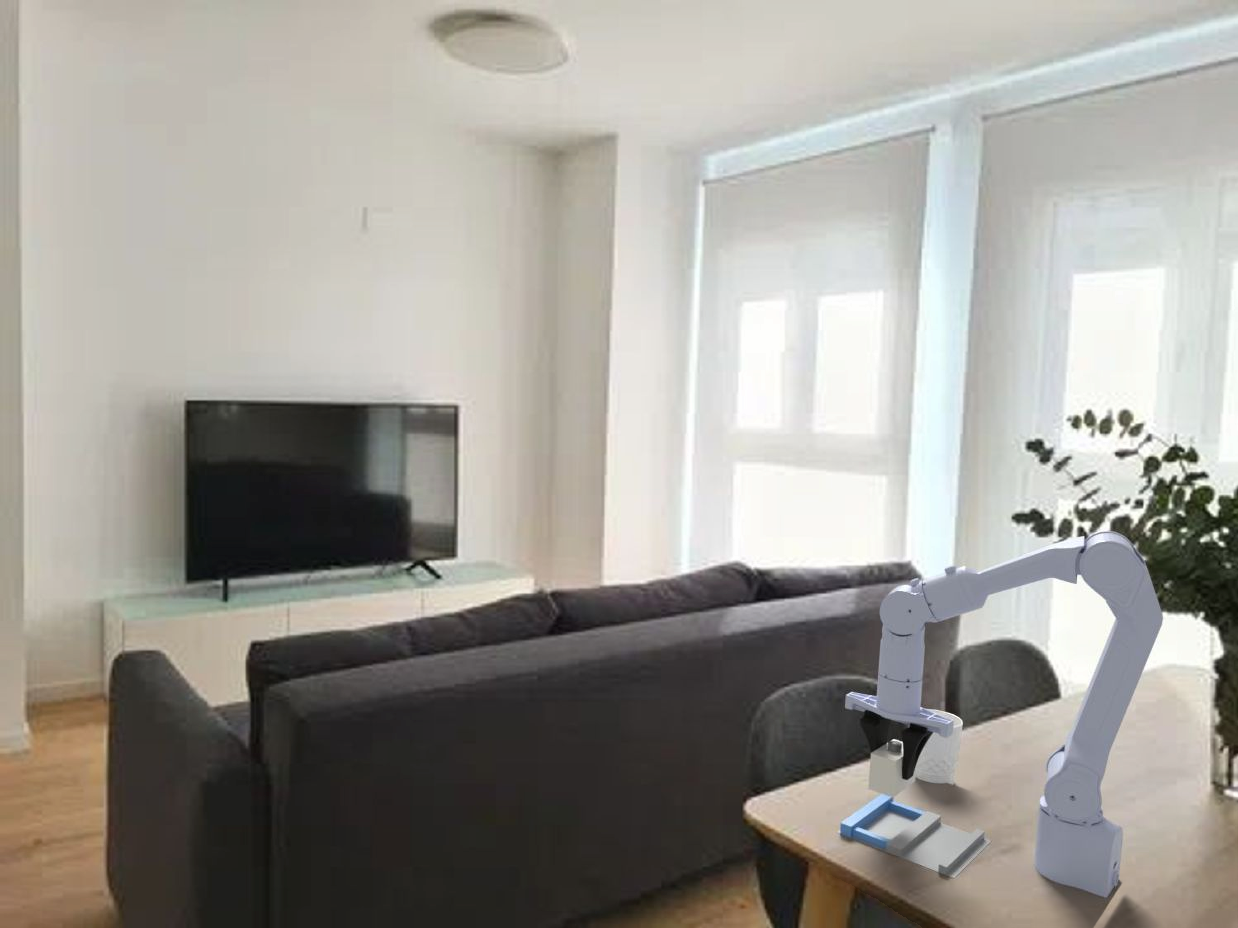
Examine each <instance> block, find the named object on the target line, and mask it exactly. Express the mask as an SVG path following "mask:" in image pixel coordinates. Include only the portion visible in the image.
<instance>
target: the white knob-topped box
mask: <svg viewBox="0 0 1238 928" xmlns="http://www.w3.org/2000/svg"><path fill="white" fill-rule="evenodd" d="M902 765H903V742H902V741H900V740H899V739H895V738H894V739H892V740H889V741H887V744H885V745H883V746H882V747H880V748H878V749H877V750H875V751H874V752H872V753H871V752H870V762H869V775H868V786H867V787H868V788H867V789H868V790H870V791H873V792H876V793H879V794H880V795H881V794H884V795H887V796H890V797H896V796H897V795H899V794H900V793H901V792H902V791H904V790H906V789H907V788H908V787H910V786H911V785H912V784H914V783H915V782H916V767H915V770H914V774H913V776H912V777H911V778H910V779H908V780H905V779H902Z"/></svg>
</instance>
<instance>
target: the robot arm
mask: <svg viewBox="0 0 1238 928" xmlns="http://www.w3.org/2000/svg"><path fill="white" fill-rule="evenodd" d="M1078 576H1081V577H1082V580H1083V581H1084V582H1085V584H1086V585H1088V587H1089V588H1090V589H1092V590H1093V591H1094V592H1095V593H1096V594H1098V595H1099V597H1101V598H1103V599H1104V600H1105V602H1106V604H1107V606H1108V607H1109V609H1110V611H1111V612H1112V614H1113V616H1114V617H1115V620H1114V622H1113V625H1112V628H1111V630H1110V632H1109V634H1108V636H1107V639H1106V641H1105V645H1104V647H1103V649H1102V651H1101V654H1100V657H1099V659H1098V662H1097V664H1096V666H1095V669H1094V672H1093V675H1092V678H1091V679H1090V681H1089V685H1088V687H1087V690H1086V692H1085V694H1084V696H1083V699H1082V702H1081V704H1080V707H1079V709H1078V712H1077V714H1076V716H1075V719H1074V722H1073V723H1072V724H1073V725H1072V727H1071V728H1070V730H1069V731H1068V733H1067V734H1066V736H1065V739H1064V741H1063V744H1062V745H1061V746H1060V747H1059V748H1058V749H1056V750H1054V751H1053V752H1052V753H1051V754H1050V756H1049V757H1048V759H1047V762H1046V781H1045V782H1046V783H1045V784H1044V789H1043V796H1041V797H1040V798H1039V804H1038V815H1037V823H1036V824H1037V825H1036V827H1037V828H1036V837H1035V849H1034V859H1033V861H1034V862H1033V866H1034V869H1035V870H1036V871H1037V872H1038V874H1040V875H1041V876H1043V877H1045V878H1046V879H1048V880H1050V881H1052V882H1055V883H1058V884H1061V885H1063V886H1069V887H1073V888H1077V889H1080V890H1083V891H1086V892H1089V893H1091V894H1094V895H1097V896H1099V897H1103V898H1105V899H1106V898H1108V896H1109V895H1110V893H1111V892H1112V890H1114V888H1115V887H1116V886H1118V883H1119V879H1120V871H1121V863H1122V862H1121V861H1122V859H1121V858H1122V850H1123V849H1122V848H1123V840H1124V838H1123V837H1124V832H1123V827H1122V826H1121V825H1119V824H1117V823H1114V822H1112V821H1111V820H1108V819H1107V818H1106V817H1104V812H1103V809H1102V805H1103V798H1102V792H1101V785H1102V781H1103V779H1104V776H1105V773H1106V771H1107V770H1106V769H1107V765H1108V760H1109V756H1110V753H1111V750H1112V747H1113V744H1114V742H1115V740H1116V737H1117V735H1118V732H1119V730H1120V728H1121V725H1122V722H1123V720H1124V719H1125V715H1126V713H1127V711H1128V708H1129V705H1130V703H1131V701H1132V699H1133V696H1134V693H1135V691H1136V689H1137V687H1138V684H1139V682H1140V679H1141V677H1142V674H1143V672H1144V670H1145V666H1146V665H1147V662H1148V659H1149V657H1150V655H1151V652H1152V651H1153V648H1154V646H1155V642H1156V639H1157V637H1158V635H1159V633H1160V630H1161V628H1162V625H1163V620H1164V615H1163V612H1162V611H1163V610H1162V609H1161V606H1160V603H1159V600H1158V597H1157V594H1156V591H1155V588H1154V584H1153V580H1152V579H1151V575H1150V572H1149V570H1148V567H1147V564H1146V561H1145V559H1144V557H1143V556H1142V555H1141V553H1140V552H1139V551H1138V550H1137V548H1136V547H1135V546H1134V544H1133V542H1131V541H1130V539H1128V538H1127V537H1126V536H1125V535H1123V534H1121V533H1118V532H1116V531H1111V530H1102V531H1098V532H1097V531H1096V532H1095V533H1093V534H1091V535H1089V536H1088V537H1086V538H1085V536H1084V535H1083V536H1077V537H1073V538H1069V539H1065V540H1062V541H1059V542H1055V543H1051V544H1049V545H1046V546H1043V547H1041V548H1038V549H1036V550H1033V551H1030V552H1028V553H1025V554H1023V555H1022V554H1021V555H1020V556H1017V557H1014V558H1012V559H1009V560H1006V561H1004V562H1001V563H999V564H996V565H994V566H991V567H987V568H986V569H982V570H977V569H974V568H972V567H970V566H966V565H962V566H960V567H957V566H956V564H951V565H948V566H945V568H944V572H942V573H939V574H936V575H934V576H930V577H928V578H924V579H922V580H920V579H919V578H918V577H917V578H914V579H911V580H910V581H909V584H902V585H899V586H896V587H895V588H893V589H892V590H891V591H889V593H887V595H886V596H885V597H884V598H883V600H882V602H881V604H880V606H879V617H880V618H879V619H880V621H881V622H882V627H881V628H882V629H881V633H882V635H881V639H880V645H879V659H878V673H877V674H878V675H877V687H876V688H877V689H876V695H870V694H864V693H858V692H854V691H851V692H849V693H847V694H845V700H844V701H845V703H844V708H845V709H847V710H851V711H853V710H857V711H860V712H864V713H863V714H862V715H863V717H861V718H860V719H859V725H860V727H861V729H862V731H863V733H864V735H865V737H866V740H867V743H868V746H869V750H870V754H871V753H872V752H874V751H875V750H877V749H878V748H880V747H882V746H883V745H885V744H887V743H888V738H889V737H888V736H889V731H890V727H891V722H892V721H895V722H898V723H901V724H905V725H908V726H909V727H907V728H905V729H903V730H902V731H901V740H902V742H903V765H902V779H905V780H908V779H910V778H911V777H912V776H913V774H914V770H915V767H916V764H917V761H918V758H919V756H920V754H921V752H922V750H923V748H924V746H925V744H926V743H927V741H928V739H929V738H930V736H931V735H932V734H933V732H935V733H938V734H939V735H940V736H942V737H945V738H947V737H949V736H951V735H952V734H953V723H954V720H952V719H948V718H945V717H943V716H940V715H938V714H936V713H933V712H931V711H929V710H927V709H928V708H924V707H922V706H921V704H922V691H923V678H924V677H923V676H924V665H925V664H924V661H925V650H926V645H925V644H926V643H925V632H926V625H925V623H938V622H942V621H946V620H948V619H951V618H954V617H958V616H960V615H965V614H967V613H970V612H974V611H977V610H980V609H982V608H983V607H984V606H985V604H986V601H987V599H988V597H989V596H990V595H993V594H996V593H997V594H998V593H1000V592H1003V591H1007V590H1011V589H1014V588H1019V587H1023V586H1025V585H1029V584H1032V583H1036V582H1040V581H1043V580H1046V579H1047V580H1048V579H1055V580H1056V579H1057V580H1059V581H1063V582H1067V583H1070V584H1074V585H1077V584H1078Z"/></svg>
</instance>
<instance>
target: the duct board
mask: <svg viewBox="0 0 1238 928" xmlns="http://www.w3.org/2000/svg"><path fill="white" fill-rule="evenodd" d="M894 797H895V796H894ZM894 797H890V796H887V795H884V794H881V793H880V794H879V795H878V796H876V797H875V798H874V799H872V800H870V801H869V802H868V803H866V805H864V806H862V807H861V808H860V809H858V810H857V811H855V812H854V813H853V814H851V815H850V816H849V817H847V818H845V819H844V820H843V821H841V822H840V827H839V828H840V829H839V830H838V831H836V833H837V834H839V835H841V836H845V837H847V838H850V839H852V840H855V841H857V842H860V843H862V844H865V845H866V846H867V845H868V846H870V847H872V848H875V849H878V850H879V851H883V852H885V853H888V854H890V855H893V856H896V857H898V858H901V859H903V860H906V861H909V862H911V863H912V864H915V865H919V866H921V867H923V868H926V869H929V870H931V871H934V872H937V873H938V874H941V875H944V876H947V877H949V878H952V879H956V877H957V876H958V875H959V874H960V873H961V872H962V871H963V870H965V868H967V867H968V866H969V865H970V863H971V862H973V861H974V859H975V858H977V856H978V855H980V853H982V852H983V850H984V849H986V848H987V847H988V846H989V845H990V844H991V843H992V840H991V839H987V838H985V834H986V831H984V830H982V829H980V828H976V829H975V830H974V831H973V832H972V833H971V832H968V831H965V830H962V829H959V828H956V827H953V826H951V825H948V824H946V823H943V822H942V821H941V819H942V815H940V814H937V813H934V812H931V811H928V810H926V811H923V810H920V809H918V808H915V807H913V806H910V805H906V804H905V803H904V804H903V803H901V802H898V801H895V800H894Z"/></svg>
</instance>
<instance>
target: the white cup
mask: <svg viewBox="0 0 1238 928" xmlns="http://www.w3.org/2000/svg"><path fill="white" fill-rule="evenodd" d="M926 709H927V710H929V711H931V712H933V713H936V714H938V715H940V716H943V717H945V718H948V719H952V720H954V723H953V734H952V735H951V736H949V737H947V738H945V737H942V736H940V735H939V734H938V733H935V732H933V734H932V735H931V736H930V738H929V739H928V741H927V743H926V744H925V746H924V748H923V750H922V752H921V754H920V756H919V758H918V761H917V764H916V777H915V779H918V780H919V781H923V782H924V781H925V782H928V783H932V784H941V785H942V784H949V785H951V786H954V784H955V776H956V770H957V768H958V761H959V756H960V755H959V754H960V750H961V740H962V733H963V724H964V723H963V720H962V719H961V718H960V717H959V716H957V715H955V714H953V713H950V712H947V711H943V710H939V709H929V708H926Z"/></svg>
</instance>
